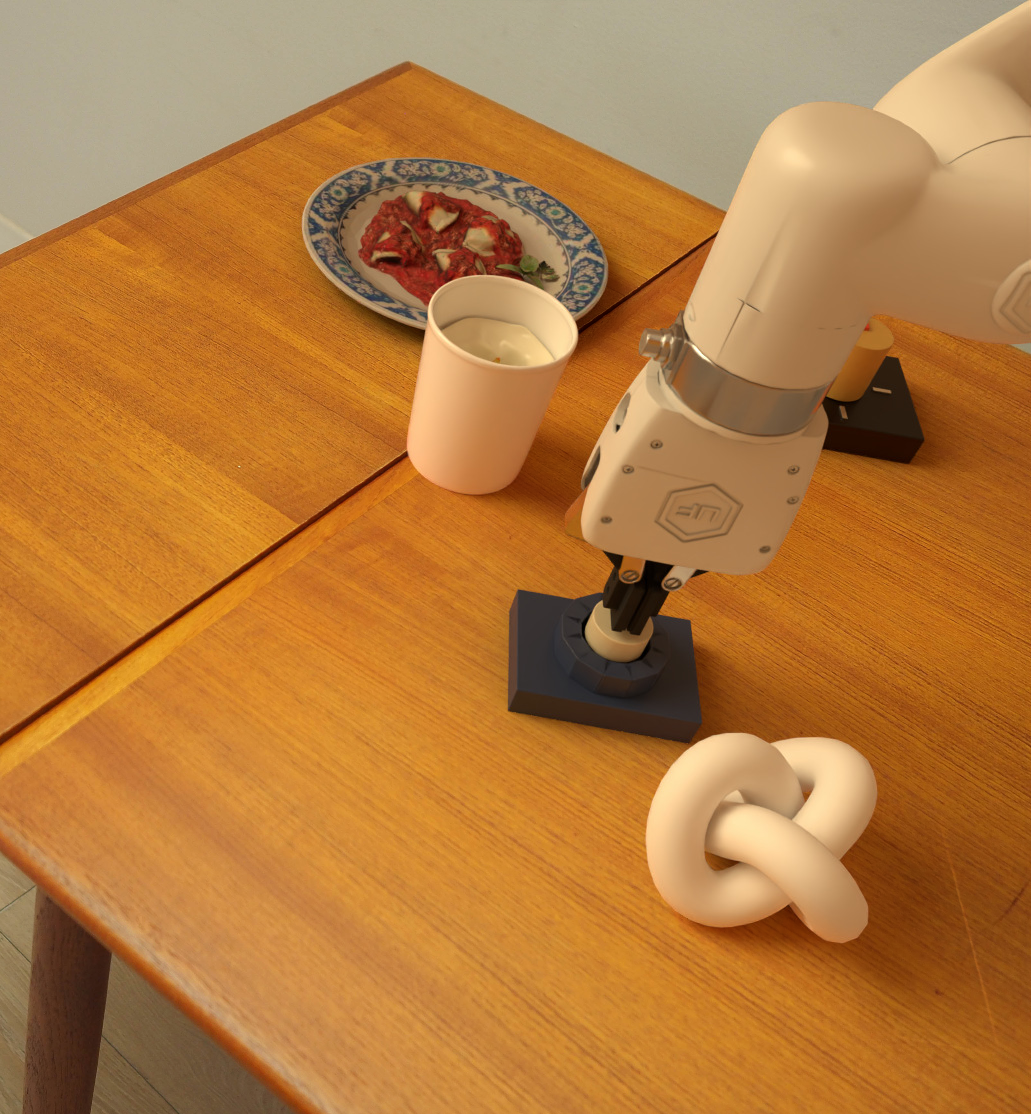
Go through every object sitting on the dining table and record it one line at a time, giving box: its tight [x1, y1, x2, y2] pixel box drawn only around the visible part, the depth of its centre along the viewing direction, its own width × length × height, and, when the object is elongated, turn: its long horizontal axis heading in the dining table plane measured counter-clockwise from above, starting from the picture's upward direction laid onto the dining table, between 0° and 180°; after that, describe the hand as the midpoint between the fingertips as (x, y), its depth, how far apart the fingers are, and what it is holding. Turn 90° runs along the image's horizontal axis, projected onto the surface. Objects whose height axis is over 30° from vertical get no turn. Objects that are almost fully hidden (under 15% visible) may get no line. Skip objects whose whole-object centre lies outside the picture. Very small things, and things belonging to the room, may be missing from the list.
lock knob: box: [826, 316, 895, 402], centre depth 95 cm, size 4×4×5 cm
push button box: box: [507, 588, 703, 745], centre depth 76 cm, size 11×8×4 cm
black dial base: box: [822, 355, 926, 465], centre depth 98 cm, size 12×10×3 cm
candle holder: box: [406, 275, 579, 496], centre depth 86 cm, size 10×10×12 cm
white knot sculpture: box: [645, 732, 878, 944], centre depth 66 cm, size 11×12×9 cm
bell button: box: [585, 600, 653, 662], centre depth 74 cm, size 4×4×2 cm
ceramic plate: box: [301, 156, 609, 331], centre depth 105 cm, size 26×26×3 cm
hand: (623, 614), depth 73 cm, fingers closed
